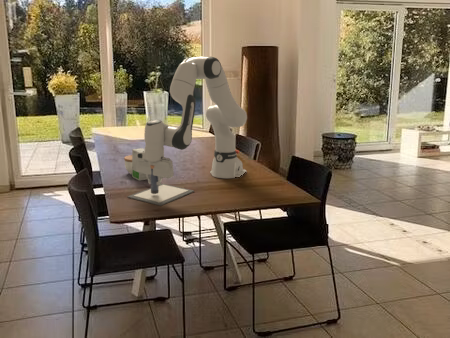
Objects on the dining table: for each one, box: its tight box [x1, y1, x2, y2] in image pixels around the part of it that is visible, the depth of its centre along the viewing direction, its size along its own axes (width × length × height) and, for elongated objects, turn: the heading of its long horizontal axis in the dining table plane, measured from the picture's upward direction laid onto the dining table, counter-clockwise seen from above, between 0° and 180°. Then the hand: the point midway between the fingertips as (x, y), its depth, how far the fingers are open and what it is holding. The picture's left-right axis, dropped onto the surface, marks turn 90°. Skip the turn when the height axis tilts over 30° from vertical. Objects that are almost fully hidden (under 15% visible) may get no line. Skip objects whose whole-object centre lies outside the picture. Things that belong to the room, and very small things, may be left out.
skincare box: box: [131, 147, 148, 181], centre depth 250 cm, size 8×7×16 cm
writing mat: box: [127, 183, 195, 207], centre depth 225 cm, size 26×20×1 cm
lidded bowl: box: [123, 154, 132, 175], centre depth 260 cm, size 13×13×11 cm
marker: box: [150, 165, 159, 194], centre depth 218 cm, size 4×4×14 cm
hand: (154, 184), depth 219 cm, fingers closed on marker, 4 cm apart
